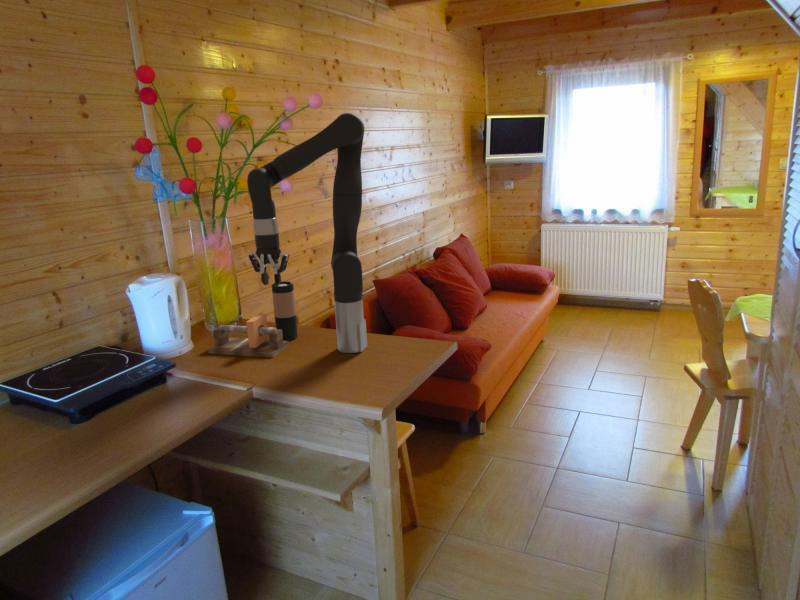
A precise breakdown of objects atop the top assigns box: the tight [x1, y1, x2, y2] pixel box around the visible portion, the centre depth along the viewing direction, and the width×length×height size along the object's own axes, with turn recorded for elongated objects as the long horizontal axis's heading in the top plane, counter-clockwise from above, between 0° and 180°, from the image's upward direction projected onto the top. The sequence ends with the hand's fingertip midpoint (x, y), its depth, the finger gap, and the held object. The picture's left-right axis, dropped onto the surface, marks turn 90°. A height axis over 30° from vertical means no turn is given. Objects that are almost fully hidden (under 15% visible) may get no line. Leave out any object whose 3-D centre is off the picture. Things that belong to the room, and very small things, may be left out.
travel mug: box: [271, 281, 299, 342], centre depth 200 cm, size 8×8×20 cm
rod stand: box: [207, 324, 290, 359], centre depth 192 cm, size 24×12×8 cm, turn 75°
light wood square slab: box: [246, 313, 269, 348], centre depth 190 cm, size 2×9×9 cm, turn 165°
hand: (271, 284), depth 184 cm, fingers open, 3 cm apart
